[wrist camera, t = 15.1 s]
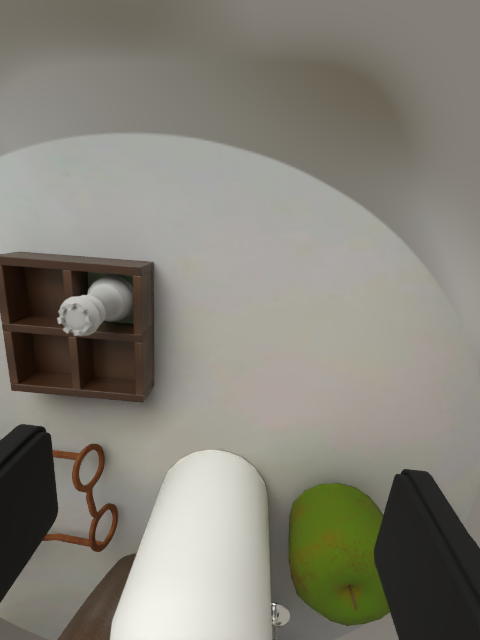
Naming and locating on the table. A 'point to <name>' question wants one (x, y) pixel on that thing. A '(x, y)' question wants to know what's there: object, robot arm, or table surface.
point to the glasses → (87, 488)
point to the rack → (66, 349)
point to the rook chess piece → (97, 306)
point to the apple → (337, 554)
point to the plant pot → (100, 605)
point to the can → (202, 557)
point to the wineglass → (278, 617)
